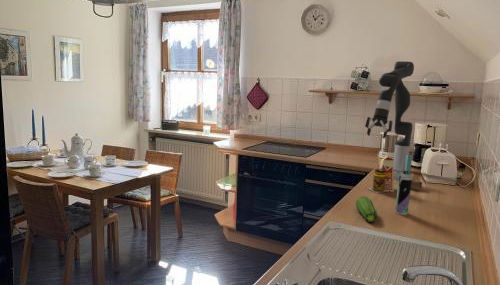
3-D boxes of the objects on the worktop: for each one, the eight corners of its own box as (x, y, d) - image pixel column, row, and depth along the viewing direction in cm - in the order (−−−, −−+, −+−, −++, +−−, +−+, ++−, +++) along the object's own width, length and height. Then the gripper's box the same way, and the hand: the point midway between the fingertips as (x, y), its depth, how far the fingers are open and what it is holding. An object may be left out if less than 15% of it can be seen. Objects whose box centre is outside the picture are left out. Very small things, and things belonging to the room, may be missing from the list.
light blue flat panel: (397, 176, 241) (400, 151, 238) (402, 176, 241) (405, 151, 238) (406, 183, 226) (409, 156, 223) (411, 183, 226) (415, 156, 223)
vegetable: (366, 191, 179) (377, 206, 160) (372, 205, 180) (383, 221, 161) (351, 197, 180) (360, 213, 161) (357, 211, 181) (367, 228, 162)
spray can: (401, 215, 174) (406, 172, 170) (392, 211, 179) (397, 169, 175) (410, 214, 176) (415, 172, 173) (401, 210, 181) (406, 169, 177)
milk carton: (393, 192, 210) (397, 156, 207) (376, 190, 212) (380, 154, 209) (391, 187, 219) (395, 153, 216) (374, 185, 221) (378, 151, 218)
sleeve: (393, 177, 242) (394, 170, 241) (403, 178, 242) (404, 171, 241) (400, 182, 231) (400, 175, 231) (410, 182, 231) (411, 175, 231)
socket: (405, 186, 223) (406, 178, 222) (416, 187, 223) (417, 179, 222) (409, 189, 217) (410, 181, 216) (421, 190, 217) (422, 182, 216)
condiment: (377, 193, 207) (379, 171, 205) (366, 188, 214) (368, 167, 212) (387, 192, 210) (390, 170, 207) (377, 187, 217) (379, 167, 215)
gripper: (396, 112, 217) (390, 140, 217) (371, 108, 225) (365, 135, 224) (394, 109, 211) (387, 138, 211) (368, 105, 218) (361, 133, 218)
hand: (376, 136), depth 217 cm, fingers open, 8 cm apart
